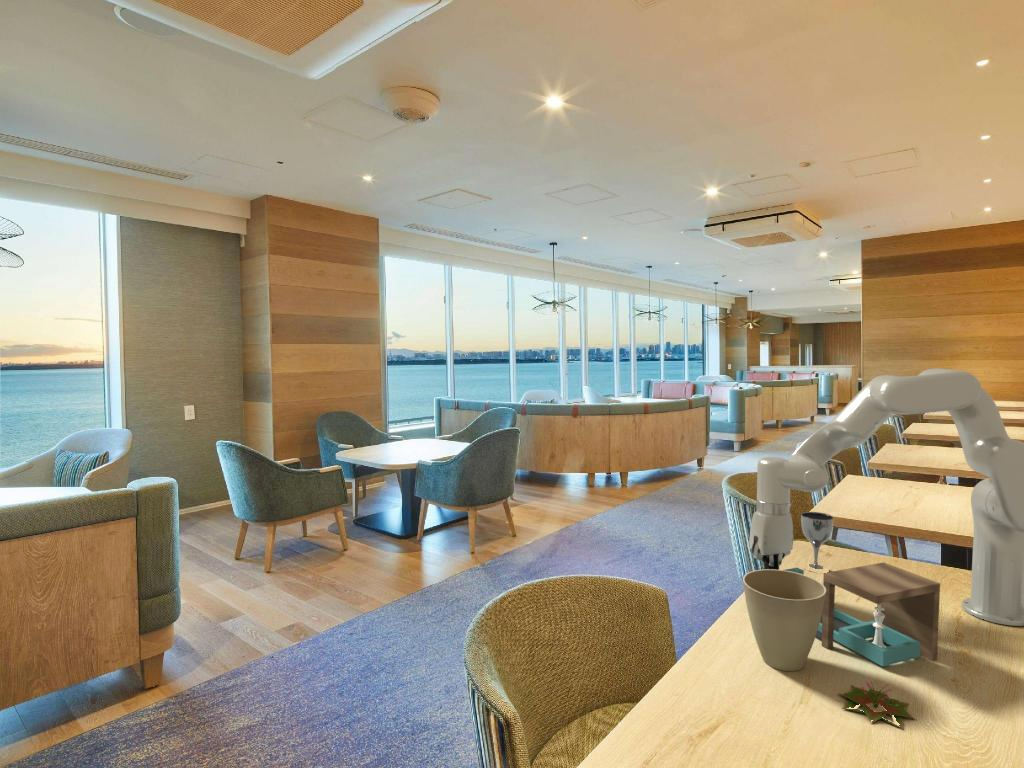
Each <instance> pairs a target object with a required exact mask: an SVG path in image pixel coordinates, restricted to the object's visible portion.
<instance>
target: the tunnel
mask: <svg viewBox="0 0 1024 768" xmlns="http://www.w3.org/2000/svg"><path fill="white" fill-rule="evenodd" d="M822 584H823V585H824V586H825V588H826V596H825V601H824V606H823V611H822V616H821V620H820V623H822V633H821V632H819V631H817V634H816V637H815V639H817V640H819V641H820V642H821V646H822V647H823V648H825V649H827V650H828V649H833V648H834V641H835V640H834V639H833V634H834V630H835V631H837V632H839V628H842V627H846V626H851V625H850V624H848V623H846V622H844V621H842V620H840V619H838V618H836V617H834V608H835V597H836V596H835V595H836V587H838V588H841V589H843V590H845V591H846V592H849V593H852V594H853V595H856V596H859V597H860V598H863V599H864V600H867V601H869V602H872V603H874V604H876V607H878V604H880V605H881V607H883V608H884V611H883V610H881V613H883V614H884V615H885V618H884V620H883V622H882V624H883V625H885V626H887V627H889V628H891V629H893V630H895V631H897V632H899V633H902V634H904V635H906V636H908V637H910V638H912V639H914V640H916V641H918V642H920V656H921V657H924V658H926V659H927V660H929V661H935V660H938V648H939V646H938V641H939V622H940V597H941V594H940V593H941V583H940V582H938V581H935V580H933V579H929V578H927V577H924V576H923V575H922V576H921V575H919V574H916V573H913V572H911V571H908V570H905V569H902V568H899V567H897V566H895V565H892V564H890V563H887V562H879V563H873V564H867V565H861V566H856V567H851V568H845V569H839V570H838V569H837V570H834V571H830V572H827V573H823V582H822ZM876 612H878V610H876Z"/></svg>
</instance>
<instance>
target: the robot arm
mask: <svg viewBox="0 0 1024 768" xmlns="http://www.w3.org/2000/svg"><path fill="white" fill-rule="evenodd" d="M938 412H939V413H940V412H948V413H949V415H950V417H951V418H952V420H953V422H954V425H955V428H956V431H957V434H958V437H959V441H960V444H961V447H962V451H963V455H964V459H965V462H966V464H967V465H968V466H969V468H970V469H972V470H973V471H974V472H976V473H978V474H981V475H983V476H986V477H987V478H985V479H982V480H980V481H979V482H978V483H977V484H976V485H974V487H973V489H972V491H971V495H970V505H971V513H972V519H973V520H972V521H973V542H972V563H971V583H970V584H971V586H970V597H967V598H965V599H963V600H962V602H961V608H962V610H964V611H965V612H966V611H967V613H968V614H970V615H971V616H973V615H974V616H973V617H975V618H976V617H977V619H981V620H983V619H984V621H987V622H990V623H994V624H999V625H1005V626H1011V627H1012V626H1014V627H1024V442H1023V441H1020V440H1018V439H1017V440H1016V439H1014V438H1011V437H1010V436H1009V434H1008V433H1007V431H1006V430H1007V429H1006V426H1005V424H1004V422H1003V419H1002V415H1001V413H1000V411H999V408H998V406H997V404H996V402H995V401H994V398H993V397H991V395H990V393H988V392H987V390H985V389H984V388H983V387H982V386H981V382H980V381H979V379H978V378H977V377H976V376H975V375H973V374H972V373H970V372H967V371H964V370H958V369H949V368H941V367H938V368H936V367H934V368H929V369H926V370H923V371H921V372H920V373H919V374H918V375H909V376H908V375H907V376H897V375H892V374H891V375H890V374H889V375H888V374H885V375H884V374H883V375H877V376H876V377H874V378H873V379H871V380H870V381H869V382H867V384H865V386H863V388H862V389H861V390H860V391H859V392H858V393H857V394H856V395H855V396H854V397H853V398H852V399H851V400H850V401H849V402H848V403H847V404H846V406H844V408H843V409H842V410H841V411H840V412H839V413H838V414H836V415H835V417H834V418H832V419H831V420H830V421H829V422H827V423H825V424H824V425H823V426H821V428H820V427H819V429H818V430H816V431H815V432H814V433H812V434H811V435H810V436H809V437H807V438H806V439H805V440H804V441H803V442H802V443H800V445H799V446H798V448H797V449H795V450H794V452H792V454H791V455H790V456H789V458H788V459H786V458H782V457H779V456H778V457H777V456H764V457H761V458H759V460H758V462H757V467H756V468H757V472H756V473H757V474H756V476H757V479H756V511H754V512H753V514H752V518H751V523H750V530H749V541H748V542H749V543H748V544H749V549H750V551H751V550H752V551H753V554H752V558H753V559H756V560H758V561H761V562H762V563H763V564H764V567H763V569H775V570H780V566H782V564H783V563H782V562H783V560H784V558H785V557H787V556H789V555H790V554H791V553H792V550H793V548H794V527H793V526H794V525H793V517H792V514H791V512H790V511H791V510H790V509H791V507H792V501H791V490H796V491H802V492H808V493H815V492H819V491H822V490H824V488H826V486H827V485H828V483H829V473H828V471H827V469H826V467H824V465H826V464H827V462H828V461H830V460H831V459H832V458H833V457H834V456H836V455H838V454H839V453H841V452H842V451H845V450H847V449H848V450H849V449H851V448H854V447H857V446H860V445H862V444H864V443H866V442H867V441H868V440H869V439H870V438H871V437H872V436H873V435H874V434H875V433H876V432H877V431H878V430H879V429H880V428H881V427H882V426H883V425H884V424H885V423H886V422H887V420H889V419H890V418H891V417H892V416H893V415H903V416H904V415H919V414H929V413H938Z"/></svg>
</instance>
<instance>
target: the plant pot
mask: <svg viewBox="0 0 1024 768" xmlns="http://www.w3.org/2000/svg"><path fill="white" fill-rule="evenodd" d="M785 570H786V569H779V570H775V569H764V568H763V569H756V570H752V571H749V572H747V573H745V574H744V575H743V577H742V582H743V590H744V595H745V597H744V598H745V603H746V608H747V613H748V617H749V621H750V625H751V629H752V632H753V634H754V635H753V636H754V638H755V641H756V642H755V643H756V644H757V647H758V650H759V653H760V655H761V658H762V660H763V662H764V663H765V664H766V663H767V664H766V665H768V666H769V667H770V668H773V669H776V670H778V671H779V670H780V671H784V672H796V671H799V670H801V669H802V668H803V667H804V665H805V663H806V661H807V660H808V656H809V654H810V652H811V650H812V648H813V644H814V642H815V640H816V638H815V637H816V634H817V631H818V627H819V624H820V620H821V616H822V612H823V606H824V601H825V596H826V588H825V586H824V585H823V582H820V581H819V580H817V579H815V578H813V577H811V576H808V575H806V574H804V575H803V574H800V573H796V572H791V571H785Z"/></svg>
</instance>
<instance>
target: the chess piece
mask: <svg viewBox="0 0 1024 768" xmlns="http://www.w3.org/2000/svg"><path fill="white" fill-rule="evenodd" d="M873 608H874V612H873V613H872V614H873V617H874V621H876V623H873V626H874V627H876V631H875V637H873V638H874V639H873V641H872V643H873V644H875V645H877V646H879V647H881V648H885V647H887V646H886V645H885V644H884V641H883V640H882V629H884V628H885V626H884V625H883V624H882V622H883V620H884V618H885V615H884V614H883V613H881V610H883V611H884V608H883V607H881V605H880V604H878V607H877V606H873ZM877 610H878V612H877Z"/></svg>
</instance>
